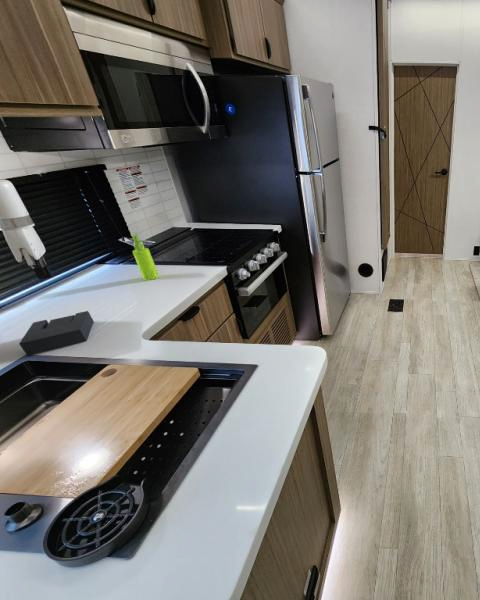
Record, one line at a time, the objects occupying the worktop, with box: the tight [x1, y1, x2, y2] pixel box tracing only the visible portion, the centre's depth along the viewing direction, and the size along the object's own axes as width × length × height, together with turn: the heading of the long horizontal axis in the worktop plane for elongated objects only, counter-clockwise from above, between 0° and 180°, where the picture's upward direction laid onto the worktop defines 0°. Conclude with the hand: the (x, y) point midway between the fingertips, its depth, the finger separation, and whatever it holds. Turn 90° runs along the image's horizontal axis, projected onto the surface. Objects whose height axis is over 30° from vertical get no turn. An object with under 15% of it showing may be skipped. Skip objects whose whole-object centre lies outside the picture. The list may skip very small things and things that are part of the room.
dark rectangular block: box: [18, 310, 94, 356], centre depth 107 cm, size 14×14×4 cm
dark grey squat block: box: [46, 314, 75, 328], centre depth 110 cm, size 6×6×4 cm
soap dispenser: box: [130, 233, 160, 281], centre depth 146 cm, size 6×7×20 cm
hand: (46, 277), depth 109 cm, fingers closed
